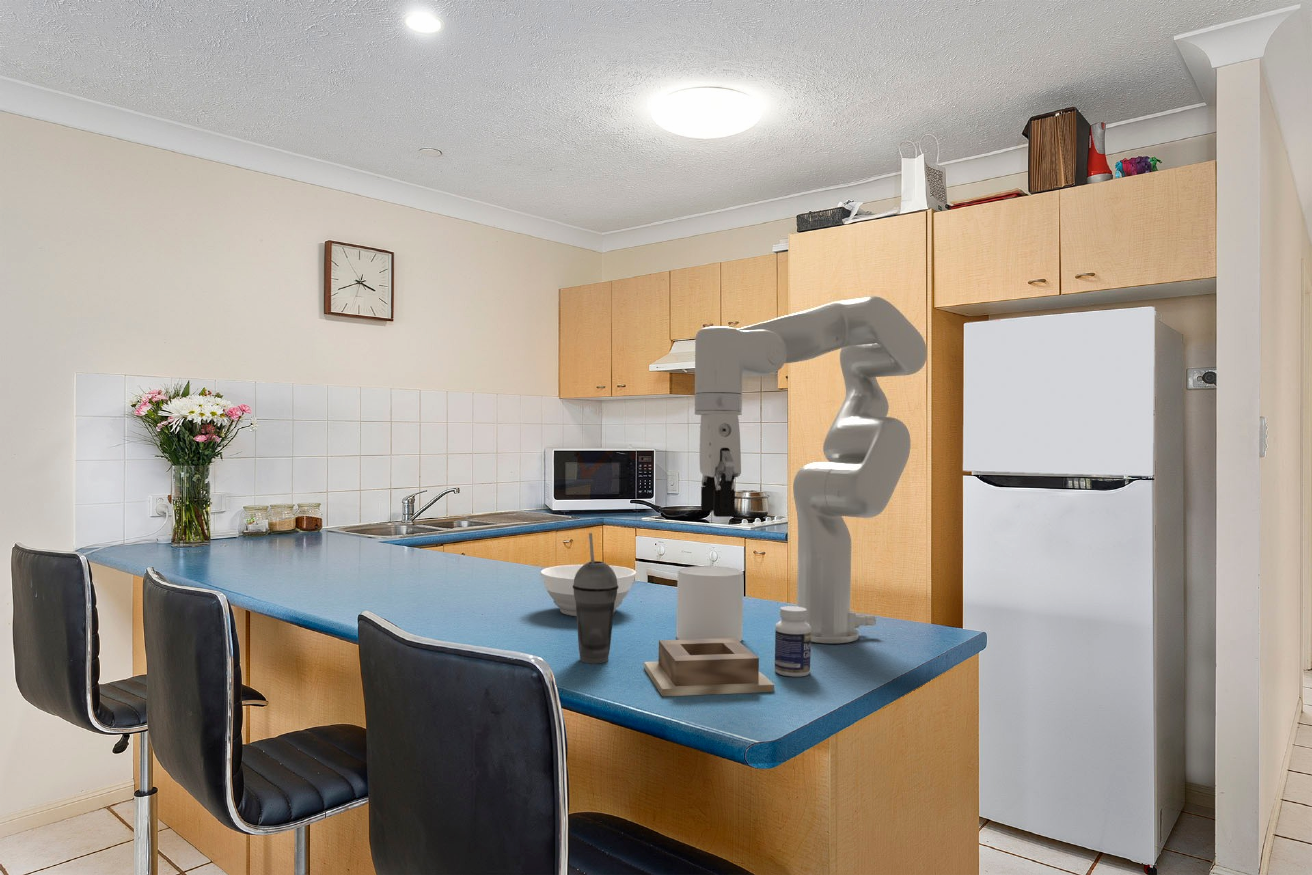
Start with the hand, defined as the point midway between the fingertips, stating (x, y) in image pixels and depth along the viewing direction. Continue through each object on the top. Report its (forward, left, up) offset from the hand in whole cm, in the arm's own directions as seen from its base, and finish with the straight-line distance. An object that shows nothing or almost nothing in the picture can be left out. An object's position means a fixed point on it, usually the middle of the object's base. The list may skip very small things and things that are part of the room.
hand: (717, 513), depth 130 cm
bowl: (+16, -41, -24) cm, 50 cm away
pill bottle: (-10, +7, -24) cm, 27 cm away
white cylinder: (-3, -16, -24) cm, 29 cm away
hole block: (+4, +9, -24) cm, 26 cm away
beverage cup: (+19, -4, -24) cm, 30 cm away
